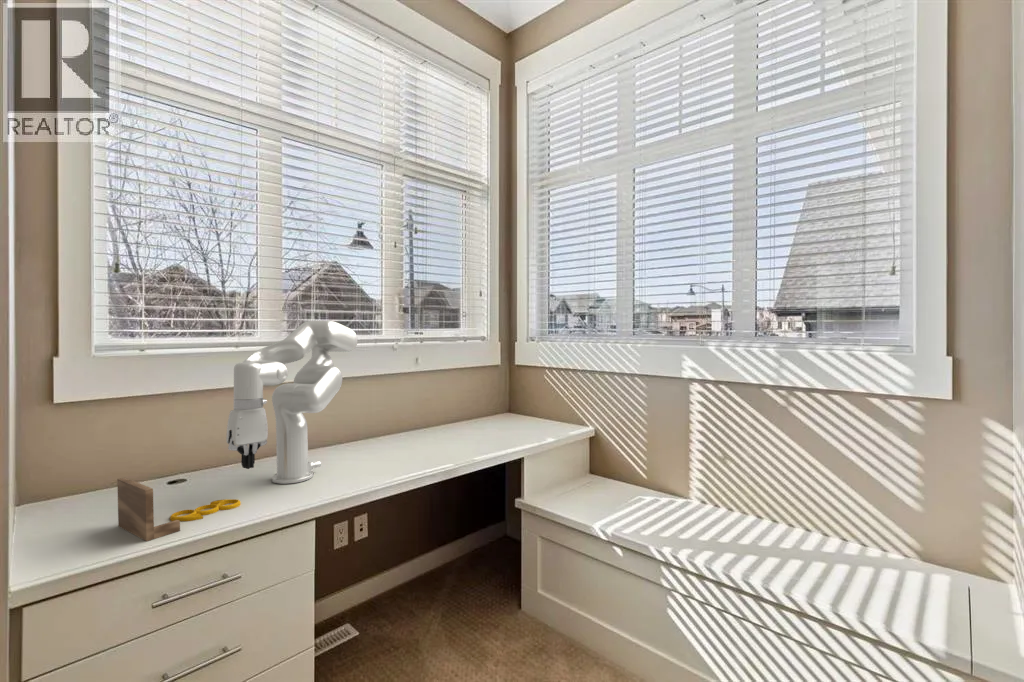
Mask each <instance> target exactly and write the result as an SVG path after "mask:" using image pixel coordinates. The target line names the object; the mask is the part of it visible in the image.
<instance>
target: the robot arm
mask: <svg viewBox="0 0 1024 682" xmlns="http://www.w3.org/2000/svg"><path fill="white" fill-rule="evenodd" d="M358 341H359V340H358V336H357V334H356V332H355V331H354V330H353V329H351V328H350V327H348V326H345V325H344V324H341V323H339V322H337V321H333V320H308V321H305V322H303V323H301V324H300V325H299V326H297V328H295V329H294V330H293V331H292V332H291V333H290V334H289V335H287V336H286V337H285V338H284V339H282V340H280V341H279V340H278V341H277V342H274V343H271V344H270V345H267V346H265V347H262V348H260V349H258V350H256V351H255V352H253V353H252V354H250V355H249V356H248V357H247V358H246V359H244V360H243V361H242V362H238V363H235V365H234V367H233V410H230V412H229V415H228V420H227V425H226V426H227V427H226V437H225V438H226V443H227V444H228V447H227V448H228V451H234V452H235V451H237V452H238V453H239V455H241V459H240V460H241V466H242V468H244V469H247V470H249V469H253V468H254V467H255V461H256V460H255V457H256V453H257V452H258V450H259V449H260V447H264V446H265V445H267V443H268V436H269V429H268V428H269V425H268V418H267V413H266V409H265V407H264V405H266V404H267V403H268V400H267V399H266V398H264V386H270V387H271V386H273V387H275V386H277V387H276V388H275V389H274V390H273V392H272V396H271V401H272V407H273V410H274V417H275V435H276V439H275V440H276V441H275V442H276V446H275V447H276V449H275V450H276V473H275V474H273V475H272V476H271V482H272V483H275V484H281V485H287V484H295V483H296V484H297V483H301V482H305V481H308V480H310V479H312V478H313V477H314V472H313V471H312V470H313V469H315V468H319V467H321V465H322V462H321V461H320V460H317V461H314V462H313V461H309V443H308V441H309V440H308V439H309V438H308V437H309V435H308V433H309V432H308V430H309V429H308V421H307V419H306V416H305V415H304V414H317V413H320V412H322V411H323V410H325V409H326V408H327V406H328V405H329V404H330V403H331V402H332V400H333V399H334V398H335V396H336V394H338V392H339V391H340V389H341V387H342V384H343V373H342V372H341V370H340V369H339V368H338V367H336V366H334V361H333V359H332V357H331V356H330V352H335V353H336V352H337V353H338V352H339V353H340V352H343V353H344V352H345V353H346V352H352V351H353V350H355V349H356V347H357V345H358ZM310 351H311V358H310V359H309V360H308V361H307V362H306V363H305V364H304V366H302V368H300V369H299V370H298V372H297V373H296V374H295V376H294V378H293V383H292V382H291V383H290V382H289V383H284V382H285V381H286V380H287V379H288V376H289V371H288V368H287V366H286V365H288V364H291V363H294V362H297V361H301V360H302V359H304V357H306V356H307V354H308V353H310ZM285 364H286V365H285ZM282 383H283V384H282ZM303 413H304V414H303Z"/></svg>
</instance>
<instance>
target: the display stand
mask: <svg viewBox="0 0 1024 682" xmlns="http://www.w3.org/2000/svg"><path fill="white" fill-rule="evenodd" d="M116 482H117V484H116V485H117V519H118V521H117V523H118V525H117V526H118V527H119V528H120V529H123V530H124V531H126V532H129V533H131V534H132V535H134V536H136V537H138V538H140V539H141V540H143V541H146V542H149V541H152V540H155V539H158V538H161V537H165V536H169V535H170V534H171V535H172V534H175V533H178V532H180V531H181V521H179V520H175V521H169V522H165V523H162V524H159V525H156V526H155V522H154V520H155V519H154V518H155V516H154V515H155V514H154V489H153V488H152V487H150V486H148V485H145V484H142V483H139V482H138V481H135V480H133V479H129V478H127V477H121V478H117V480H116Z"/></svg>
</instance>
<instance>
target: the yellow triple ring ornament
mask: <svg viewBox="0 0 1024 682" xmlns="http://www.w3.org/2000/svg"><path fill="white" fill-rule="evenodd" d="M241 503H242V501H241V500H239V499H231V498H230V499H229V498H226V499H217V500H213V501H211V502H209V503H208V504H203V505H201V506H198V507H196V508H195V509H182V510H178V511H175V512H173V513H172V514H171V515H170V516H169V517H170V518H169V520H170V522H172V521H175V520H179V521H180V522H191V521H192V522H193V521H198V520H202V519H204V516H209V515H212V514H216V513H217V512H219V511H228V510H233V509H236V508H239V507H240V506H241V505H242V504H241Z"/></svg>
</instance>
